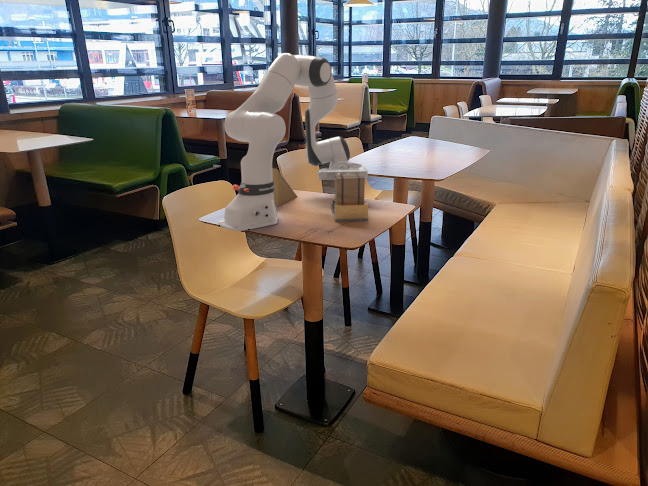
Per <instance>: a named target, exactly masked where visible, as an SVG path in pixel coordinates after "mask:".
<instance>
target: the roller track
mask: <svg viewBox="0 0 648 486" xmlns="http://www.w3.org/2000/svg"><path fill="white" fill-rule="evenodd" d="M330 208H331V212H332V215H333V220H334V222H335V223H339V222H342V223H343V222H368V221H369V203H368V202H364V203H341V204H335V199H334V200H331V203H330Z"/></svg>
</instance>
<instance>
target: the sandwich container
mask: <svg viewBox="0 0 648 486" xmlns="http://www.w3.org/2000/svg"><path fill="white" fill-rule="evenodd" d="M272 178H273V181H274V201H275V206H276V205H277V206H278V205H282V204H284V203H287V202H289V201H291V200H294V199H296V198H298V195H297V194H296V192H294V190H293V189H292V188H291V186H290V184H289V183H288V182H287V181H286V179H285V178H284V176H283V175H282V173H281V172H280V171H279V169H277V168H273V167H272Z"/></svg>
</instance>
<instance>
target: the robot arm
mask: <svg viewBox="0 0 648 486" xmlns="http://www.w3.org/2000/svg"><path fill="white" fill-rule="evenodd" d="M332 72H333V70H332V66H331V63H330V62H329V60H328V59H327V58H325V57H322V56H320V55H319V56H315V55H313V56H312V55H309V54H292V53H289V52H283V53H280V54H279V55H278V56H277V57H276V58H275V59H274V61H272V63H271V64H270V66H269V67H268V68H267V70H266V72H265V73H264V75H263V77H262V78H261V81H260V82H259V84H258V85H257V88H256V89H255V91H254V92H253V93H252V94H251V95H250V96H249V97H248V98H247V99H246V100H245V102H243V103H242V104H241V105H240V106H239V107H238V108H237V109H235V110H233V111H231V112H230V113H228V114H227V115H226V117H225V118H224V123H223V127H224V131H225V133H226V135H227V136H228V137H229V138H232V139H233V140H235V141H238V142H242V143H248V150H247V153H246V155H244V156H243V157H242V158H241V160H240V172H241V182H240V185H239V184H233V185H232V190H233V191H237V193H238V194H236V196H235V197H234V198H233V199H232V200H231V201H230V202H229V203H228V205H226V207H225V209H224V213H223V214H224V216H223V217H224V218H223V219H221V220H218V223H217V225H218V224H220V226H219V227H221V228H223V229H225V230H230V231H235V232H243V231H249V230H248V229H250V230H254V229H258V228H259V229H260V228H263V227H268V226H273V225H277V224H278V223H279V222H278V221H279V219H280V217H279V215H278V211H277V207H276V204H275V201H274V181H273V178H272V168H273V158H274V154H275V150H276V148H277V146H278V145H279V143H280V142H281V141H282V140H283V139H284V138H285V135H286V130H287V128H286V127H287V126H286V122H285V120H284V118H283V117H282V116H280V115H279V114H277V112H280V111H281V110H282V109H283V108H284V107H285V105H286V103H287V101H288V99H289V97H290V96H291V94H292V92H293V89H294V88H295V87H296V85H297V86H301V87H307V88H308V94H309V100H310V101H309V104H308V107H307V108H305V110H304V111H305V112H304V124H305V125H304V126H305V145H306V146H305V158H306V160H307V162H308V163H309V164H310V165H311V166H315V167H318V166H320V165H323V164H326V163H329V168H320V169H318V171H317V175H318V180H321V181H333V180H334V181H335V174H362V175H363V176H364V178H365V181H366V180H368V178H369V177H368V176H369V175H368V174H369V171H368V169H367V168H365V167H364V166H363V165H362V164H361V163H353V162H349V161H350V159H351V153H350V148H349V146H348V143H347V141H346V139H344V138H343V137H342V136H341V135H340V136H335V137H330V138H327V139H324V140H320V141H316V126H317V124H318V123H319V122H320V121H321V120H323V119H324V118H326V117H327V116H329V115H330V114H331V113H333V111H334V110H335V108H336V107H337V106H338V103H339V101H338V99H339V97H338V90H337V85H336V82H335V79H334V76H333V73H332Z"/></svg>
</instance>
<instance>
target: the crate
mask: <svg viewBox="0 0 648 486" xmlns="http://www.w3.org/2000/svg"><path fill="white" fill-rule="evenodd" d="M365 181H366V180H365V178H364V176H363V175H362V174H335V180H334V188H335V189H334V190H335V191H334V193H335V194H334V198H335V199H334V200H335V204H341V203H365V185H366V183H365Z"/></svg>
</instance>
